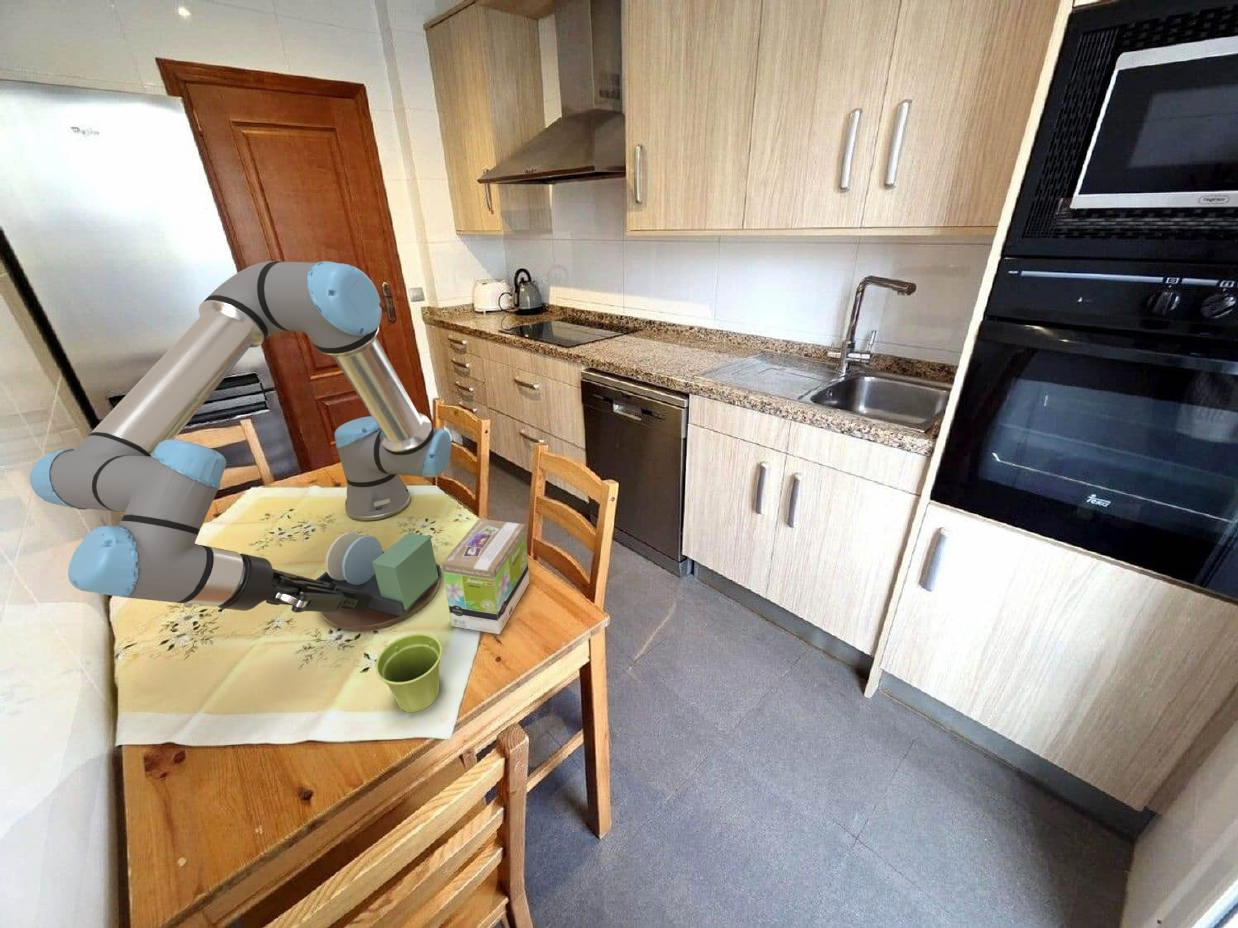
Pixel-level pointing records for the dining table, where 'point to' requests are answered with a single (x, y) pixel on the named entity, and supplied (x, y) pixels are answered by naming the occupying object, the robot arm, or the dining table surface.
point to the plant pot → (411, 670)
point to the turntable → (373, 615)
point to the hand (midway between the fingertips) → (366, 602)
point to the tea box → (486, 575)
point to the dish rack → (383, 570)
